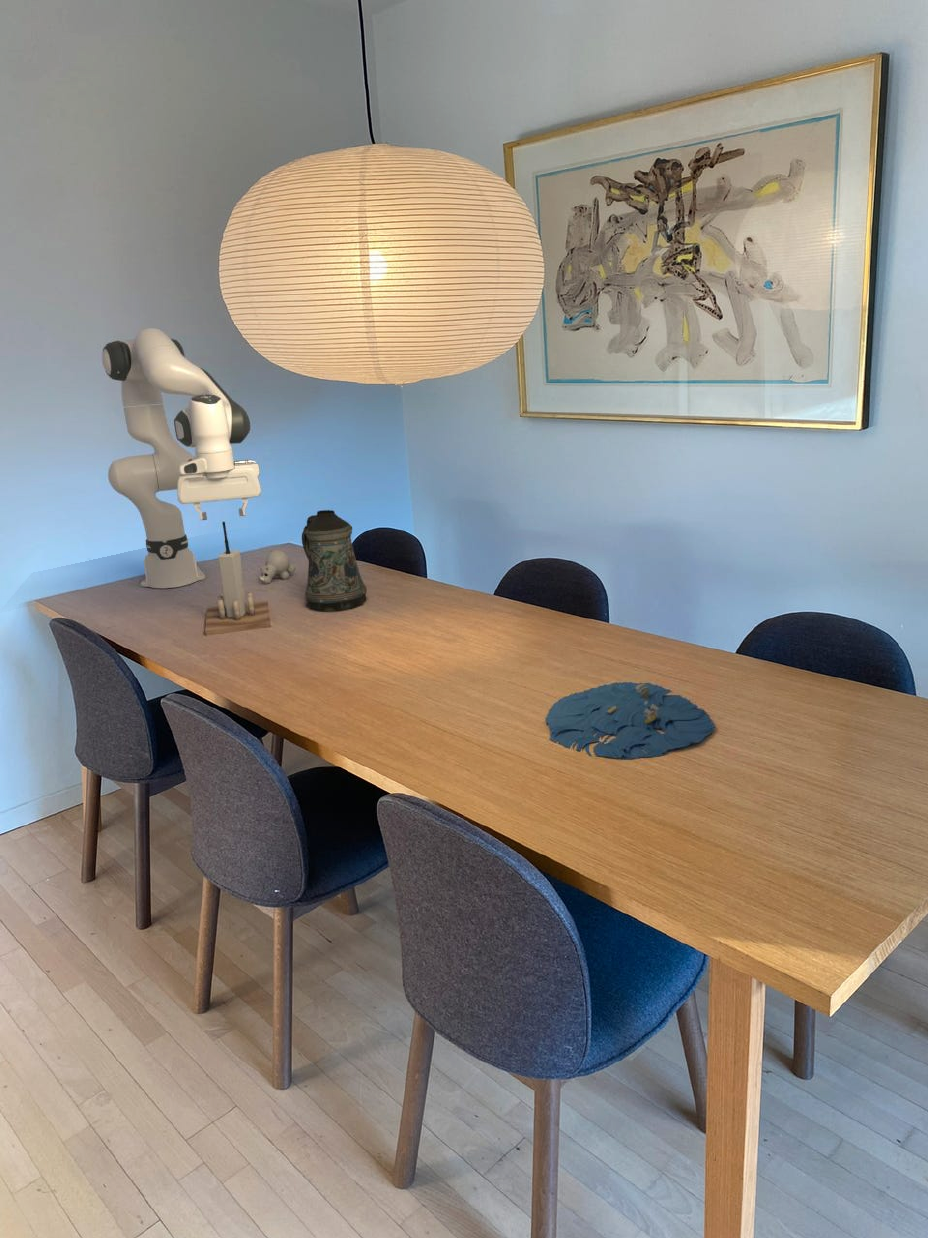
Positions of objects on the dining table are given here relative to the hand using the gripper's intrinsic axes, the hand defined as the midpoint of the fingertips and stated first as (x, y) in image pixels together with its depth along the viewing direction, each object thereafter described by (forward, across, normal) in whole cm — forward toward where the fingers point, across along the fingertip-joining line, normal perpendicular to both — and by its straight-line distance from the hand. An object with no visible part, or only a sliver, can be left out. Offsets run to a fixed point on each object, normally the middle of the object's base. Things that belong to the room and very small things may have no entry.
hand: (223, 517), depth 224 cm
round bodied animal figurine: (+28, -11, -35) cm, 46 cm away
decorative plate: (+27, -68, +94) cm, 119 cm away
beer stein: (+27, -25, -4) cm, 37 cm away
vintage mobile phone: (+26, 0, +1) cm, 26 cm away
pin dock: (+27, 0, 0) cm, 27 cm away
